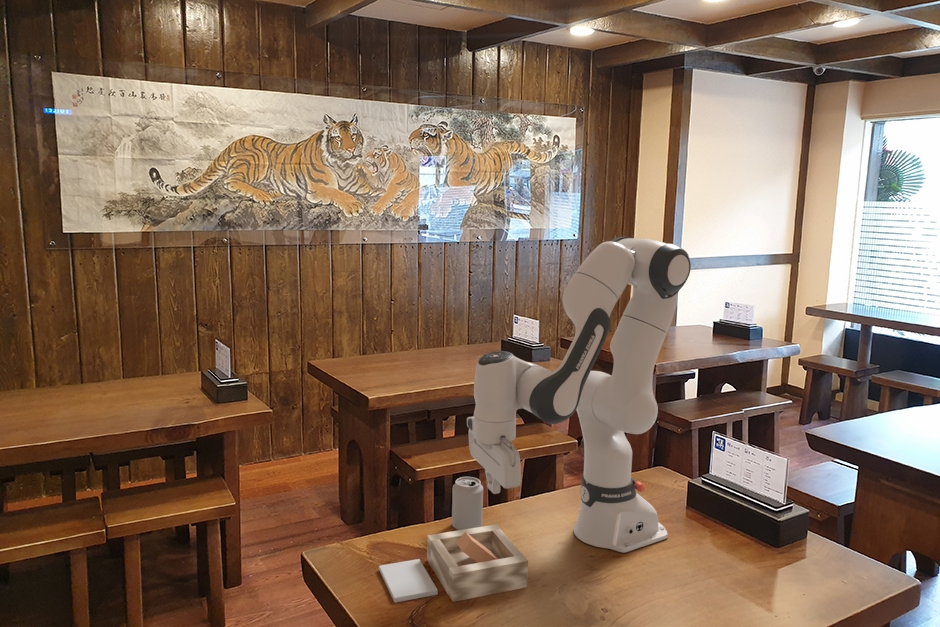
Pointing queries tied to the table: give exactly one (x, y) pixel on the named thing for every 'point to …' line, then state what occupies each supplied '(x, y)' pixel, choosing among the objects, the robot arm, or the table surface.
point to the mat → (407, 580)
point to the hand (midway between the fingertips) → (493, 491)
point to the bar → (475, 549)
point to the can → (467, 503)
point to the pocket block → (476, 564)
